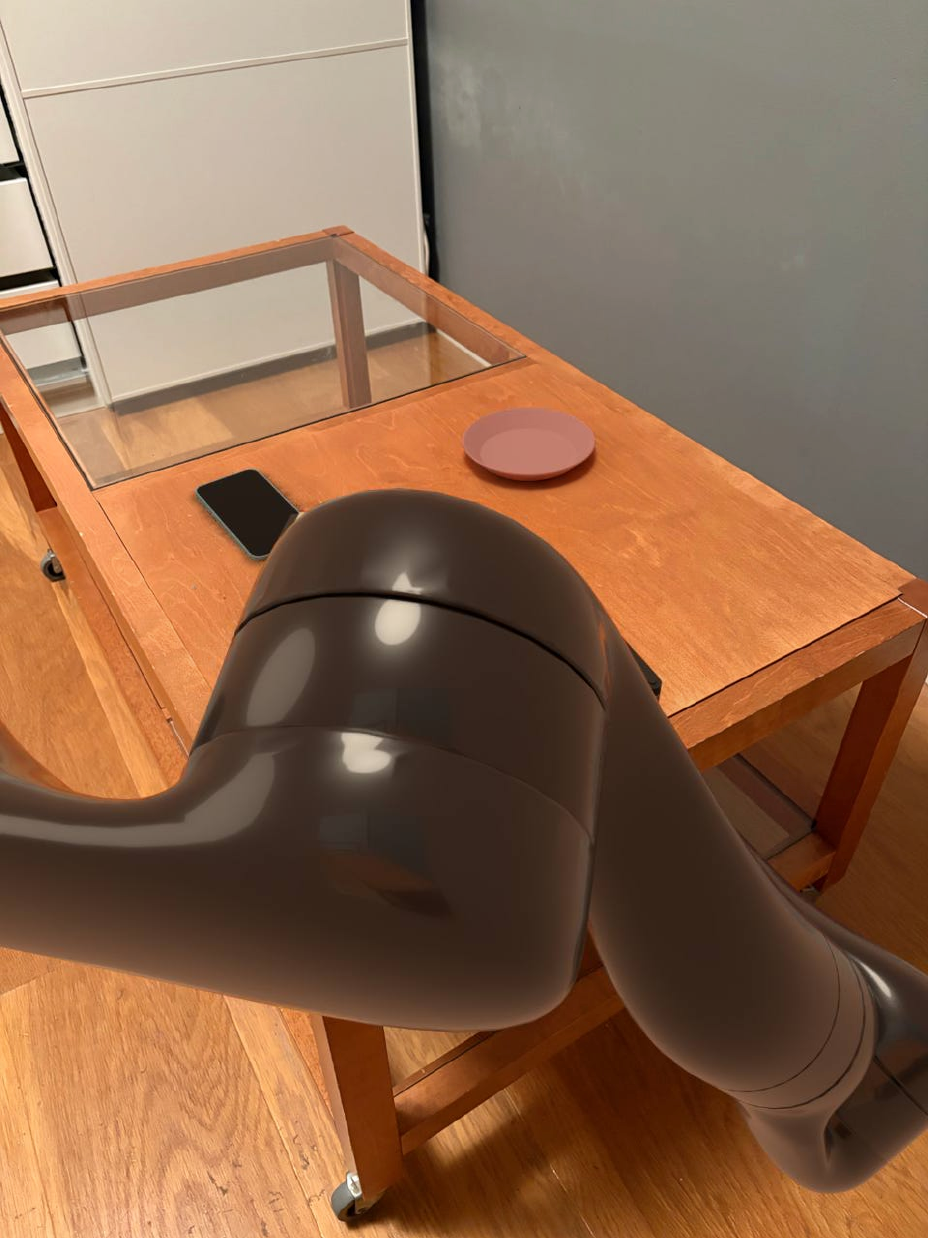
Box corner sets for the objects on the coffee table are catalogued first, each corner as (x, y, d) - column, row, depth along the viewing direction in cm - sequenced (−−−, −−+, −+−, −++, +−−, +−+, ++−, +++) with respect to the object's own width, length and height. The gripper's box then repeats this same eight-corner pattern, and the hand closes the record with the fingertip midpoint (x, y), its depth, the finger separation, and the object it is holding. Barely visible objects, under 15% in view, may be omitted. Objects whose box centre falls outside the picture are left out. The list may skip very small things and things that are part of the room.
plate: (608, 483, 98) (609, 466, 97) (472, 496, 97) (471, 479, 96) (577, 417, 109) (578, 401, 108) (455, 428, 108) (454, 412, 107)
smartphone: (254, 560, 89) (191, 488, 98) (256, 569, 90) (193, 496, 99) (321, 533, 92) (254, 465, 101) (323, 542, 93) (256, 474, 102)
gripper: (739, 713, 53) (578, 561, 64) (519, 813, 48) (386, 630, 59) (719, 799, 58) (572, 644, 69) (517, 898, 53) (394, 714, 64)
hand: (486, 638), depth 64 cm, fingers open, 8 cm apart
